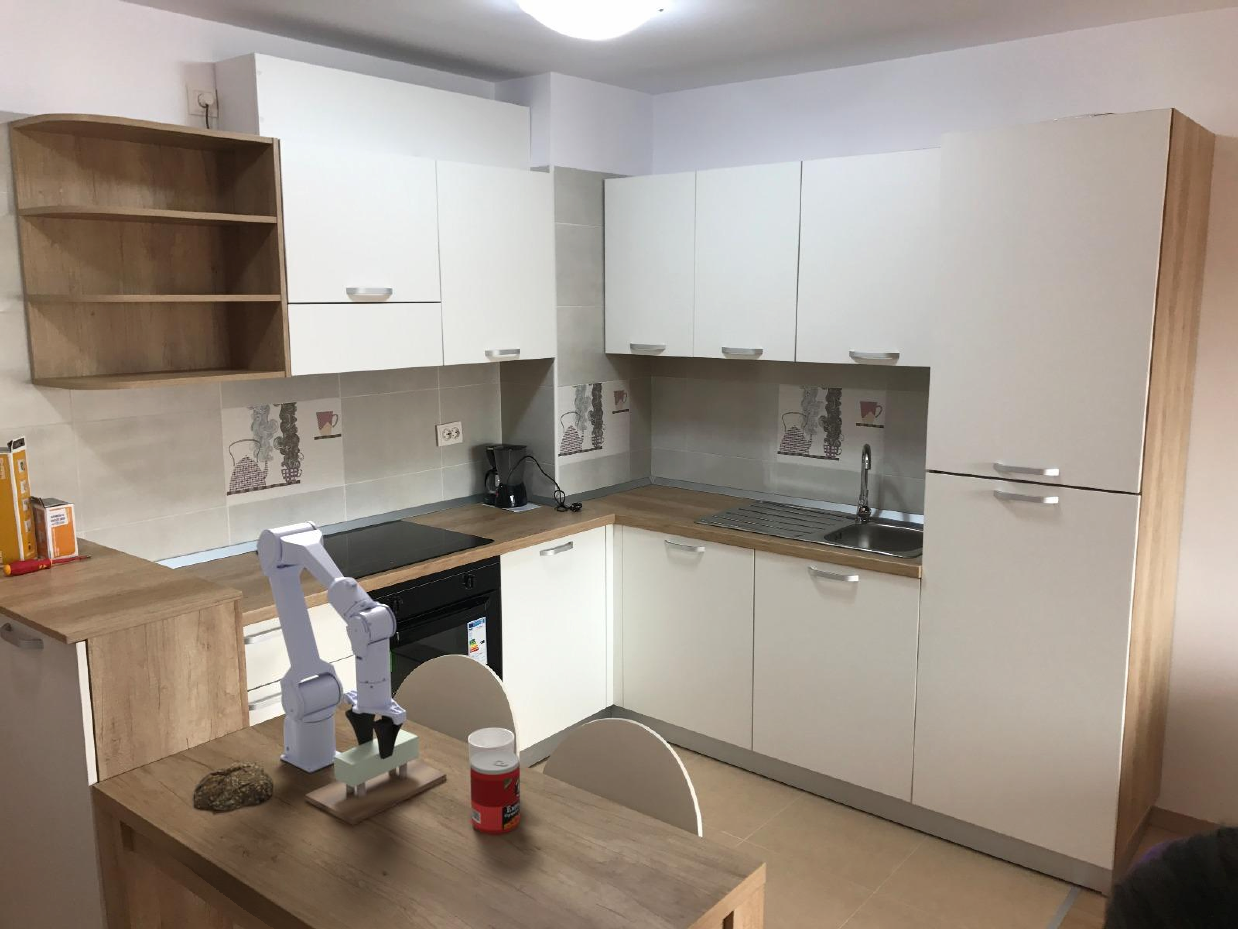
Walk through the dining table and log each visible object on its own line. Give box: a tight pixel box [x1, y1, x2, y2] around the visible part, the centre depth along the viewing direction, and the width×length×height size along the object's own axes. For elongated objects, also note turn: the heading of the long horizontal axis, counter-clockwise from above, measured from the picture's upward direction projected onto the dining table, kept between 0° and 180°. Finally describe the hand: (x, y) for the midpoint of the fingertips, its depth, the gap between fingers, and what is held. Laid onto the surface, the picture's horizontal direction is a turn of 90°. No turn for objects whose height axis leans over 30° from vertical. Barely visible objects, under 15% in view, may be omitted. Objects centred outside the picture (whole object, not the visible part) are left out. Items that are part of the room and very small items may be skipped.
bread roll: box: [194, 761, 274, 811], centre depth 170 cm, size 13×12×5 cm
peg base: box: [304, 759, 447, 826], centre depth 171 cm, size 13×20×4 cm, turn 142°
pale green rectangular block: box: [333, 728, 420, 787], centre depth 170 cm, size 14×5×4 cm, turn 142°
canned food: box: [469, 750, 521, 835], centre depth 160 cm, size 8×8×11 cm
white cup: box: [467, 727, 515, 764], centre depth 170 cm, size 8×8×10 cm
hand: (376, 752), depth 170 cm, fingers closed on pale green rectangular block, 5 cm apart
